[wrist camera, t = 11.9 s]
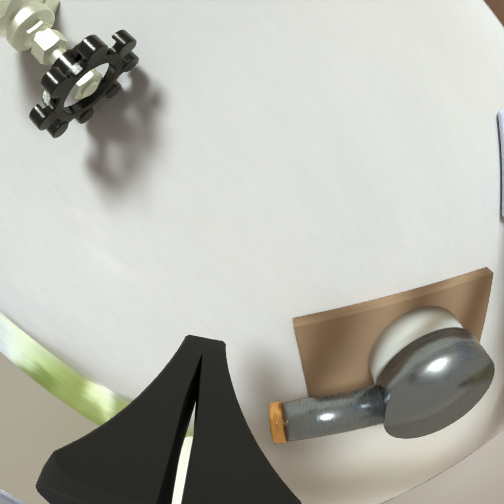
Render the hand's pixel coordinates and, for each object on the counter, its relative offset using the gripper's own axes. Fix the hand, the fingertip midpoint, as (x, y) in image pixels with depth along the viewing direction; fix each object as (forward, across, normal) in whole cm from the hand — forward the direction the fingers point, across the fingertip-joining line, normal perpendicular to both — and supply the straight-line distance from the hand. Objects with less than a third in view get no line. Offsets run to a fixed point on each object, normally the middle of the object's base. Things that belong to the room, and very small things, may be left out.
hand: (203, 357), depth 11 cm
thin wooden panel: (+9, -15, +7) cm, 19 cm away
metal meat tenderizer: (+6, -12, +6) cm, 15 cm away
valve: (+10, +13, -12) cm, 20 cm away
